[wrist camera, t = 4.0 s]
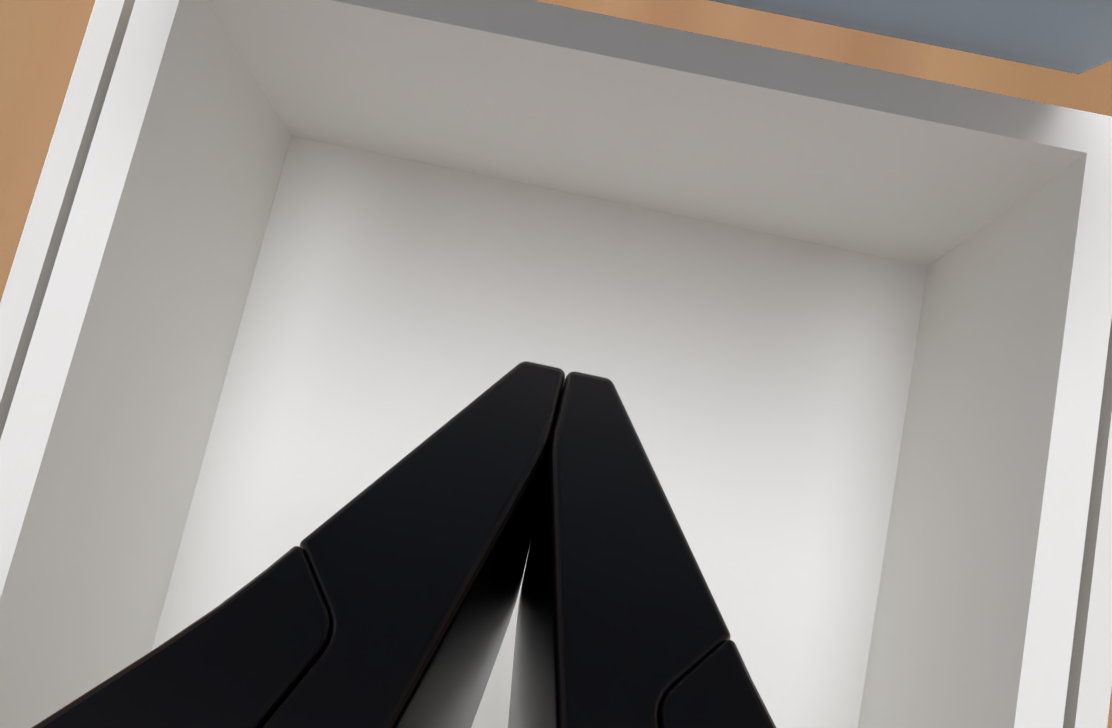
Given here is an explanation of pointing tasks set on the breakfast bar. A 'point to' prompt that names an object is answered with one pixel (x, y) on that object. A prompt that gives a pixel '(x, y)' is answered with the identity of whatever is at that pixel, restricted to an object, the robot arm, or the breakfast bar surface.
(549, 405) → the robot arm
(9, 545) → the carton
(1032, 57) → the flap
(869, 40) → the breakfast bar surface
